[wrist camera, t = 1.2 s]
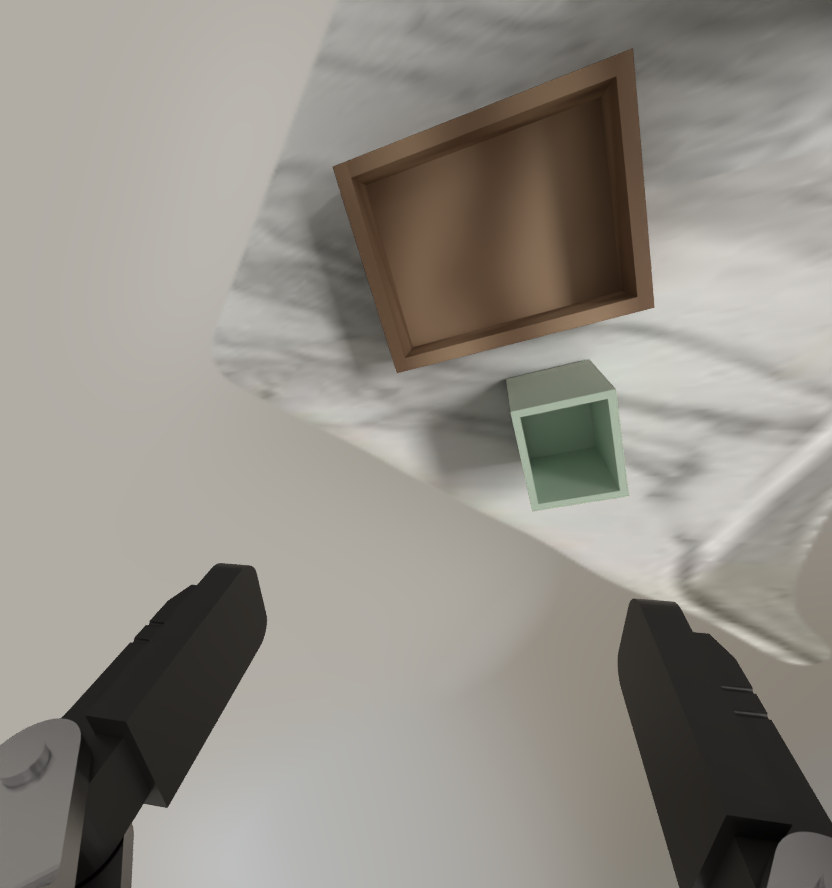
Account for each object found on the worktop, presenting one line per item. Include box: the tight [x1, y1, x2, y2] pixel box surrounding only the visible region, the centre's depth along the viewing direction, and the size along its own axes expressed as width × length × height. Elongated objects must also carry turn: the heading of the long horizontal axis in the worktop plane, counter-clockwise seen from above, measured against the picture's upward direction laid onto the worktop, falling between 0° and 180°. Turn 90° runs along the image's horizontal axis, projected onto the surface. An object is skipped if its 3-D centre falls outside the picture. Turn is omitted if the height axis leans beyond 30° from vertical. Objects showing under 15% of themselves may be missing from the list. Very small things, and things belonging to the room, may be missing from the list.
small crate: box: [506, 360, 629, 511], centre depth 25 cm, size 5×6×6 cm
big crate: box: [333, 48, 654, 373], centre depth 23 cm, size 13×10×4 cm
